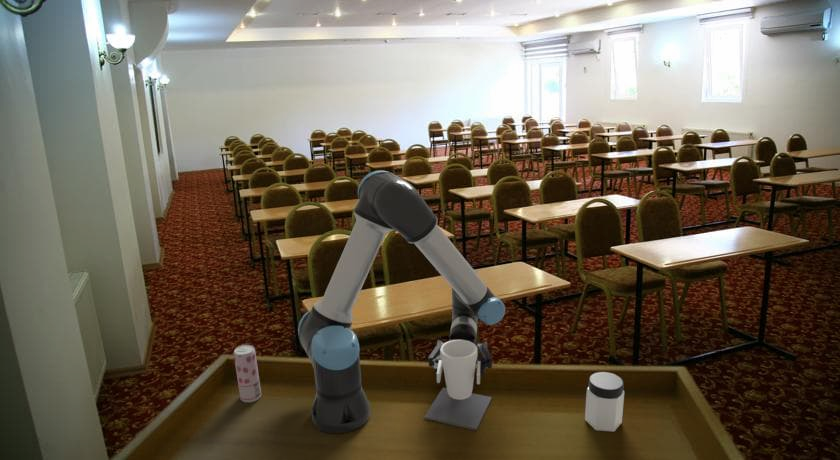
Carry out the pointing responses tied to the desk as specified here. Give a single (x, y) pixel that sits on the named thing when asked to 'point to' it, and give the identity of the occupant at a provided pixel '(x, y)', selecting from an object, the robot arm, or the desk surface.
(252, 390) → the beverage can
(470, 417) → the charcoal mat
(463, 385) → the foam cup
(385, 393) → the desk surface
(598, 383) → the jar
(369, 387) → the desk surface
